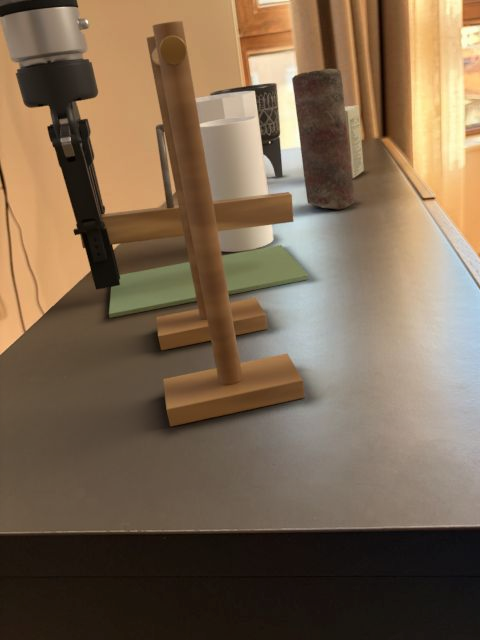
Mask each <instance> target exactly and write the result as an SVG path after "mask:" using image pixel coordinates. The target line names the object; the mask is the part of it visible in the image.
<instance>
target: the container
mask: <svg viewBox="0 0 480 640" xmlns="http://www.w3.org/2000/svg"><path fill="white" fill-rule="evenodd" d="M195 99H196V105H197V111H198V117H199V123H200V124H201V123H205V122H210V121H215V120H221V119H227V118H235V117H244V116H257V119H258V126H259V118H258V111H257V103H256V96H255V91H243V92H234V93H226V94H219V95H212V96H210V95H207V96H206V95H205V96H200V97H195ZM259 133H260V126H259ZM260 140H261V133H260ZM261 148H262V141H261ZM262 155H263V163H264V170H265V178H266V185H267V193H268V194H269V187H268V179H267V172H266V166H265V165H266V164H265V158H264V156H265V155H264V154H263V149H262Z"/></svg>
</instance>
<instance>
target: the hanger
mask: <svg viewBox="0 0 480 640" xmlns="http://www.w3.org/2000/svg"><path fill="white" fill-rule="evenodd" d="M155 135H156V140H157V149H158V154H159V162H160V169H161V176H162V183H163V190H164V197H165V203H166V205H165V206H160V207H159V206H158V207H151V208H143V209H135V210H134V209H133V210H125V211H116V212H109V213H104V214H101V215H102V219H103V222H104V223H105V227H104V228H107V232H108V236H109V240H110V245H112V246H114V245H120V244H127V243H136V242H137V243H138V242H144V241H152V240H160V239H169V238H176V237H183V236H184V232H183V226H182V221H181V216H180V211H179V206H178V204H176V205H174V198H173V197H174V196H173V189H172V183H171V175H170V169H169V161H168V160H169V159H168V154H167V153H168V151H167V144H166V138H165V132H164V127H163V123H160V124H157V125H156V126H155ZM213 206H214V212H215V218H216V224H217V229H218V231H225V230H233V229H241V228H249V227H257V226H265V225H272V226H274V225H279V224H288V223H294V210H293V209H294V207H293V194H292V193H291V192H289V191H285V192H276V193H268V195H259V196H251V197H242V198H234V199H226V200H217V201H213ZM79 235H80V242H81V246H82V248H83V249H85V246H84V242H83V238H82V234H79Z"/></svg>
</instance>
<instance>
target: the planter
mask: <svg viewBox="0 0 480 640" xmlns="http://www.w3.org/2000/svg"><path fill="white" fill-rule="evenodd" d="M243 91H255V96H256V103H257V111H258V118H259V126H260V133H261V141H262V149H263V156H265V158H267V159H268V160H269V162H270V164H271V166H272V168H273V172H274V176H275V177H276V178H282V177H283V163H282V162H283V161H282V148H281V137H280V136H281V123H280V122H281V121H280V109H279V98H278V97H279V96H278V84H277V83H276V82H269V83H259V84H252V85H244V86H238V87H233V88H232V87H231V88H226V89H222V90H216V91H212V92H210V93H209V96H212V95H219V94H226V93H234V92H243Z"/></svg>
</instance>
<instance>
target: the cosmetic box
mask: <svg viewBox="0 0 480 640" xmlns="http://www.w3.org/2000/svg"><path fill="white" fill-rule="evenodd" d="M345 115H346V125H347V134H348V144H349V152H350V162H351V169H352V179H355V178H356V177H357V176H359V175H360V174H362V173H363V172H364V169H365V168H364V158H363V157H364V156H363V145H362V144H363V143H362V130H361V117H360V105H359V104H357V105H347V106H345Z"/></svg>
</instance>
